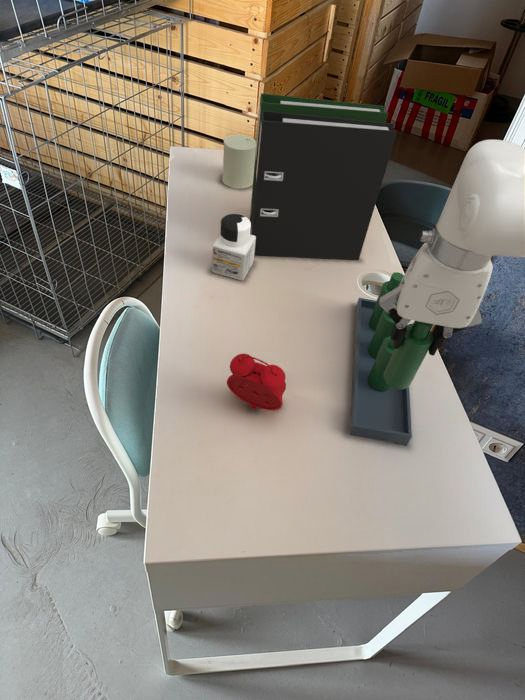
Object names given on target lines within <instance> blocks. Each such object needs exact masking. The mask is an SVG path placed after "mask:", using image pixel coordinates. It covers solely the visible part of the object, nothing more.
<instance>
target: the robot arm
mask: <svg viewBox="0 0 525 700" xmlns="http://www.w3.org/2000/svg"><path fill="white" fill-rule="evenodd" d="M418 239H419V242H422V243H423V244H422V245H421V246H420V248H419V249H418V251H417V253H416V254H415V255H414V257H413V258H412V260H411V261H410V264H409V265H408V267H407V269H406V271H405V273H404V274H403V275H404V277H403V279H402V281H401V283H400V285H399V286H398V287H397V288H395V289H393V290H392V291H390V292H388V293H387V294H385V295H383V296H382V297H380V306H381V307H382V308H383V309H384V310H385V311H386V312H388V313H389V316H390V317H391V318H392V320H393V321H394V322H395V325H394V327H393V329H392V332H391V340H394V348H395V349H398V348H400V345H401V343H402V341H403V339H404V337H405V334H406V332H407V328H406V325H408V324H410V323H411V321H413V322H414V321H419V322H424V323H430V324H434V326H433V327H434V328H432V331H431V332H432V333H433V336H434V340H433V342H432V344H431V346H430V348H429V350H428V354H429V356H432V357H433V356H435V355H436V353H437V351H438V349H439V350H440V349H441V348H442V347H443V345H444V343H445V342H446V339H449V338H451V337H452V336H453V334H455V333H458V332H461V331H463V330H466V328H470V327H474V326H477V325H481V324H482V323H483V319H482V314H481V312H480V309H479V308H480V305H481V303H482V301H483V298H484V296H485V293H486V292H487V291H486V290H487V289H488V285H489V282H490V280H491V277H492V274H493V269H494V265H493V262H492V261H491V259H492V257H507V258H525V147H524V146H521V145H519V144H517V143H514V142H511V141H508V140H502V139H484V140H481V141H478V142H477V143H475V144H474V145H473V146H471V148H469V150H468V151H467V153H466V155H465V156H464V159H463V161H462V164H461V165H460V168H459V171H458V173H457V175H456V178H455V180H454V183H453V185H452V187H451V190H450V192H449V194H448V197H447V199H446V201H445V204H444V206H443V209H442V211H441V213H440V215H439V218H438V220H437V222H436V223H434V226H433V228H431V230H421V231H420V234H419V238H418ZM396 301H398V302H397V305H396V304H394V303H395V302H396Z"/></svg>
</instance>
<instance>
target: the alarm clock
mask: <svg viewBox="0 0 525 700" xmlns="http://www.w3.org/2000/svg"><path fill="white" fill-rule="evenodd" d="M255 360H256V361H255ZM257 361H258V362H257ZM229 371H230V373H231V375H229V376H228V377H227V379H226V386H227V387H228V389H229V391H231V392H232V394H234V396H236V397H237V398H239V399H240V400H242V401H243V402H246V404H249V405H251V406H250V408H251V409H252V410H256V409H257V408H258V409H261V410H266V411H277V410H280V409H281V408H282V406H283V396H284V393H285V391H286V389H287V383H286V377H287V376H286V373H285V371H284V369H282V367H280V366H278V365H277V364H269V363H268V362H266V361H264V360H261V359H260V358H257V357H254V356H252V355H250V354H248V353H239V354H236V355H235V356H234V357H233V358H232V359H231V360H230V364H229Z"/></svg>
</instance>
